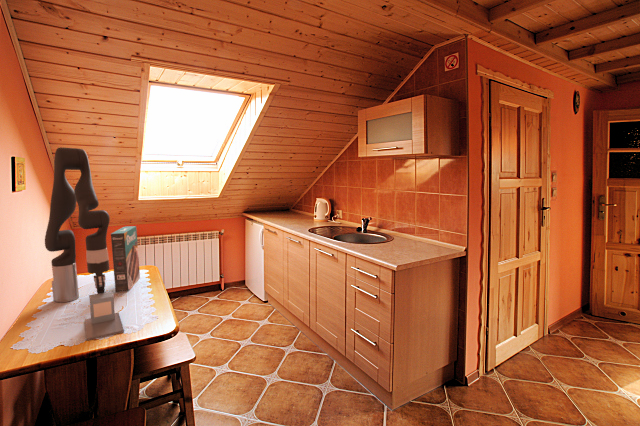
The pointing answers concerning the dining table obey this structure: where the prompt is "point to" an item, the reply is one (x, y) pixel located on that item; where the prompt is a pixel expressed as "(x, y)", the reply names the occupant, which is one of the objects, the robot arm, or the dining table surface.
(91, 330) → the slate board
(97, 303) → the slab
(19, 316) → the dining table surface
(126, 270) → the cake mix box
